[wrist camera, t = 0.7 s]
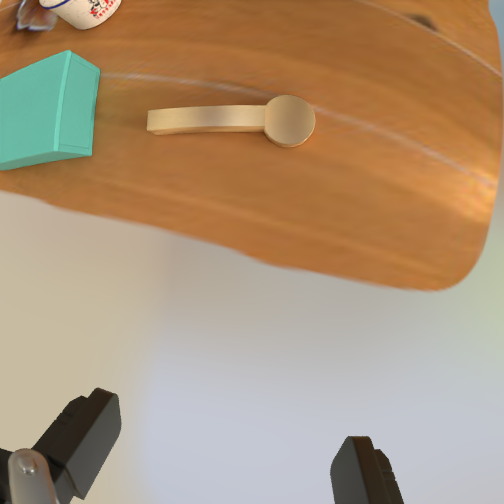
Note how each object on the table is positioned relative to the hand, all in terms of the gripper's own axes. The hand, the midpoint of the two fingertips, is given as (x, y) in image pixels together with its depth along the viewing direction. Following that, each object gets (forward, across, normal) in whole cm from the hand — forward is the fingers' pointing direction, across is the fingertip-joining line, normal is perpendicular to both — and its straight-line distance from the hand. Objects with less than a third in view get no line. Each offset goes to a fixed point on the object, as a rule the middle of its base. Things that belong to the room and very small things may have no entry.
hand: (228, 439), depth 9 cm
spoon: (+25, +5, -14) cm, 29 cm away
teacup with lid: (+25, +28, -33) cm, 50 cm away
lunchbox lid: (+18, +32, -13) cm, 39 cm away
